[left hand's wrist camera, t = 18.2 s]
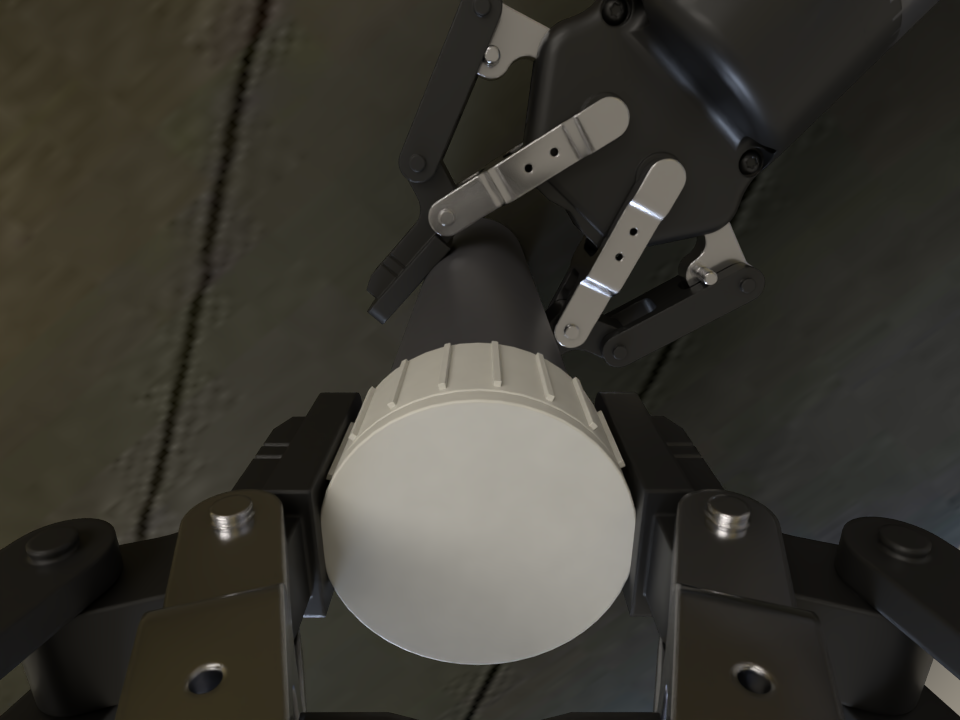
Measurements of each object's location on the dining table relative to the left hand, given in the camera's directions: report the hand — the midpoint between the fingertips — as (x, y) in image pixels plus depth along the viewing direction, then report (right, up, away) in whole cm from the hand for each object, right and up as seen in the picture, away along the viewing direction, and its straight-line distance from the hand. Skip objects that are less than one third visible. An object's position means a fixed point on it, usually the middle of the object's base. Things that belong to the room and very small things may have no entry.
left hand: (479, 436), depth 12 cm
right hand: (-2, +2, +11) cm, 11 cm away
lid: (0, -1, -3) cm, 3 cm away
